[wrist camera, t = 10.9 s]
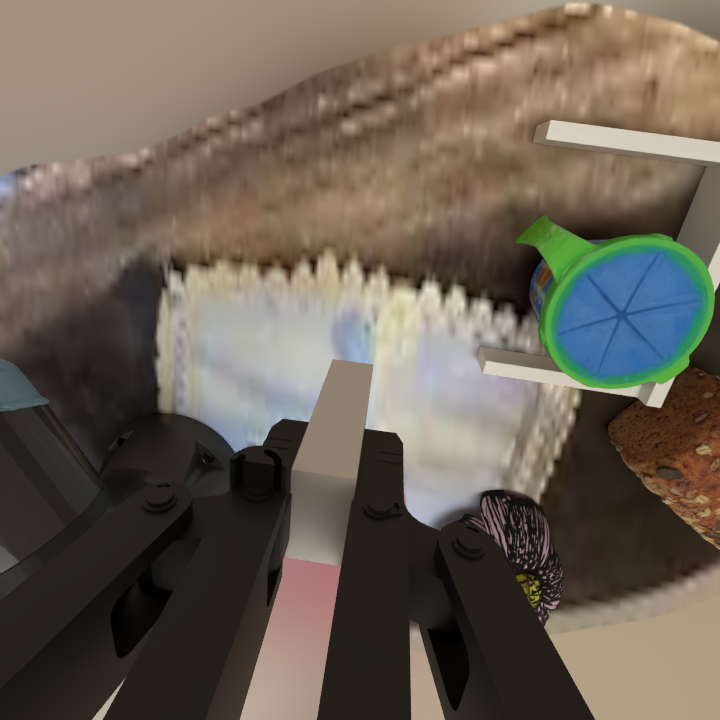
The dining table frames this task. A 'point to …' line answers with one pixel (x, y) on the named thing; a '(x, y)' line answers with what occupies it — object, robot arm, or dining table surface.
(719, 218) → the fence
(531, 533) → the decorative flower
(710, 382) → the bread
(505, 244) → the dining table surface
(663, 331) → the snack cup
